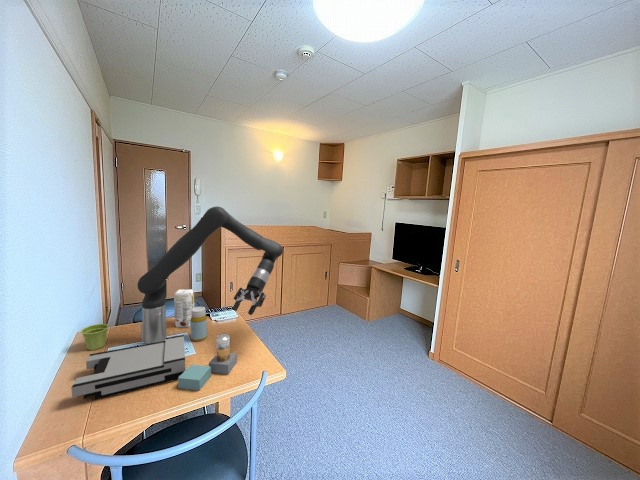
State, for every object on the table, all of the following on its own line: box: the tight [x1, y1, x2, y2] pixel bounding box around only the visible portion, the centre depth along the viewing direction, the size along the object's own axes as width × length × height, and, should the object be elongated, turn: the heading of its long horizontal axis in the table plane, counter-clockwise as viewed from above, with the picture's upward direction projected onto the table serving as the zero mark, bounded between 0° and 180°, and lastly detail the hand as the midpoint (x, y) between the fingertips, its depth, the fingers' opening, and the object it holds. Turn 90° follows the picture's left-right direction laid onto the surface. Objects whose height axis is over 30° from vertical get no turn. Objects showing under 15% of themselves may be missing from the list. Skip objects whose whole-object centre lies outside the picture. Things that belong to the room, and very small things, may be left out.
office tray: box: [71, 334, 186, 401], centre depth 100 cm, size 21×32×8 cm, turn 118°
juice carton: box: [173, 288, 195, 328], centre depth 141 cm, size 8×9×19 cm
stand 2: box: [208, 352, 238, 375], centre depth 107 cm, size 8×8×4 cm
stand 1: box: [177, 364, 212, 392], centre depth 98 cm, size 8×8×4 cm
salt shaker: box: [215, 333, 231, 362], centre depth 106 cm, size 5×5×9 cm
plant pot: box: [80, 323, 109, 351], centre depth 118 cm, size 9×9×9 cm
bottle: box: [190, 306, 208, 342], centre depth 128 cm, size 7×7×15 cm
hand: (241, 312), depth 114 cm, fingers open, 8 cm apart
